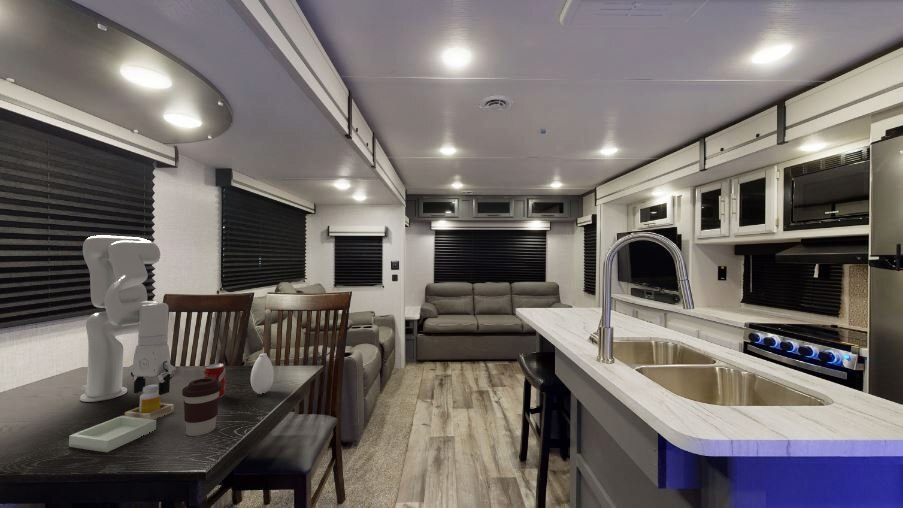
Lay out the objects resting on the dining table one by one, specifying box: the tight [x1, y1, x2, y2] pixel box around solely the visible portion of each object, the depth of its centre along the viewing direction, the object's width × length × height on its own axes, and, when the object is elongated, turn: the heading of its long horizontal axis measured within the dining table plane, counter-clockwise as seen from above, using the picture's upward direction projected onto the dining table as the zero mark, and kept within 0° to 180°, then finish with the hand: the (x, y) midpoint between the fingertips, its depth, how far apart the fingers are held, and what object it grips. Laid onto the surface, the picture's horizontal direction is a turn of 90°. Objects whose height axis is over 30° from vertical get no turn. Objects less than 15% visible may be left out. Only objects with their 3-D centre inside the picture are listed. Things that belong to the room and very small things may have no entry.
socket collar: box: [124, 402, 175, 420], centre depth 117 cm, size 9×9×2 cm
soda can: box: [203, 363, 226, 399], centre depth 133 cm, size 7×7×12 cm
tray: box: [68, 415, 157, 453], centre depth 102 cm, size 13×13×3 cm
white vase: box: [250, 347, 275, 395], centre depth 139 cm, size 8×8×18 cm
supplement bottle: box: [138, 383, 162, 413], centre depth 117 cm, size 5×5×10 cm
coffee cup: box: [181, 377, 222, 437], centre depth 108 cm, size 10×10×15 cm
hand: (151, 392), depth 117 cm, fingers open, 9 cm apart
